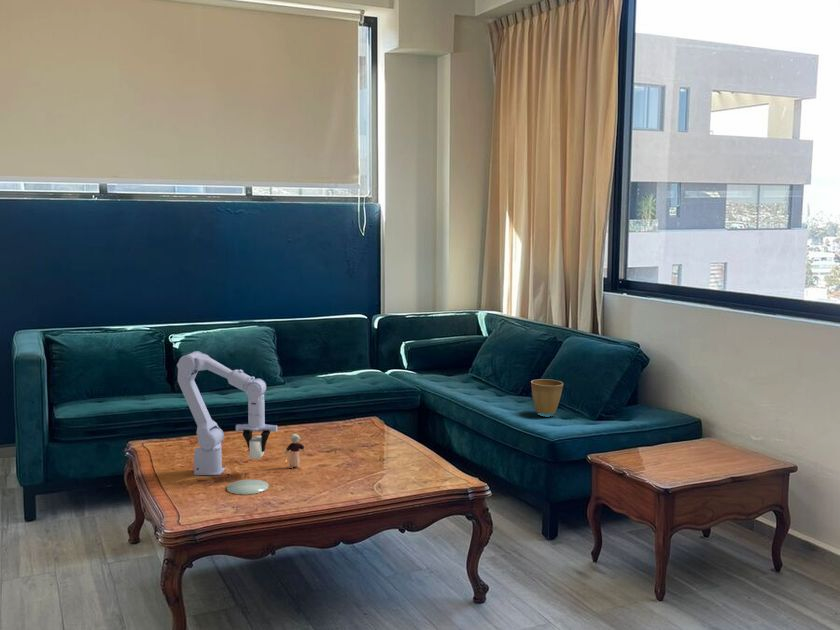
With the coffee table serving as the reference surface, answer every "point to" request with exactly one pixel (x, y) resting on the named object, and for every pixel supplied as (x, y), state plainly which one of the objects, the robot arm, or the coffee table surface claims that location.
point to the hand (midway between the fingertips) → (256, 450)
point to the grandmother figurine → (294, 451)
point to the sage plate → (247, 487)
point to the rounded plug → (255, 447)
